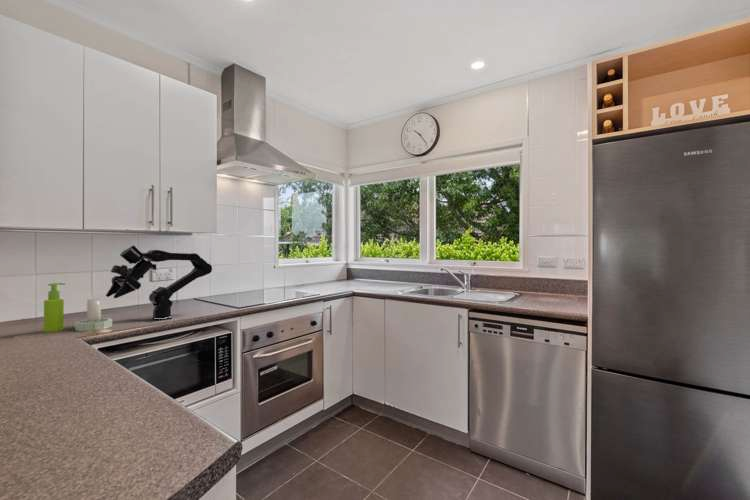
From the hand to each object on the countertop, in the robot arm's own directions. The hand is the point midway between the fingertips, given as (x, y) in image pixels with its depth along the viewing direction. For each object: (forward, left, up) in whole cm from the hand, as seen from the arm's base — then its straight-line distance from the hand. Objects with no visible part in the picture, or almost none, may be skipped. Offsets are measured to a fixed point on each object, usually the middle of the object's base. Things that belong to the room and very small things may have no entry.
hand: (110, 297), depth 151 cm
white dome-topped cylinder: (+6, 0, -12) cm, 13 cm away
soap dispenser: (+17, -7, -13) cm, 22 cm away
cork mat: (+8, +11, -13) cm, 19 cm away
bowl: (+6, 0, -13) cm, 14 cm away
